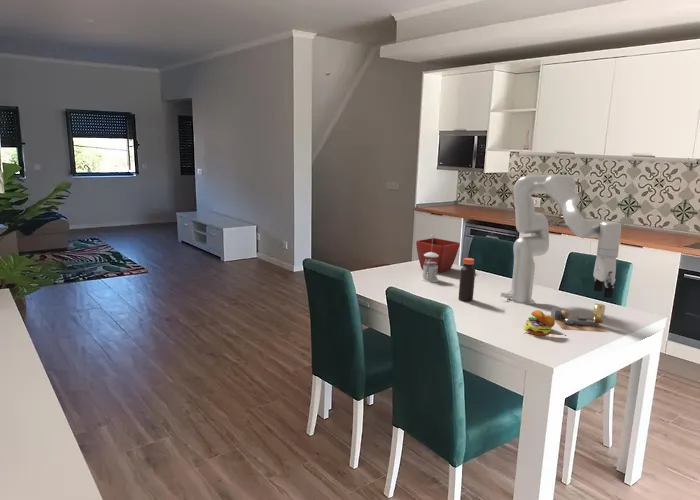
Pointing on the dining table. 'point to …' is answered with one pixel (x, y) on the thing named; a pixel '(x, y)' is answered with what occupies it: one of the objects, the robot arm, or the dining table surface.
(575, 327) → the board
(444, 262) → the plant pot
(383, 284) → the dining table surface
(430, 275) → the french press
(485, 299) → the dining table surface
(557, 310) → the anvil
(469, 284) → the bottle
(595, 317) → the lever
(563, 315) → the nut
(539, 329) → the cheeseburger
